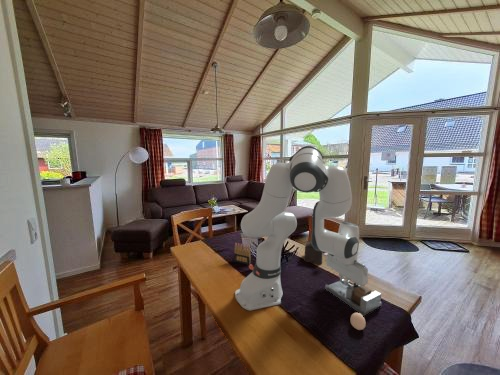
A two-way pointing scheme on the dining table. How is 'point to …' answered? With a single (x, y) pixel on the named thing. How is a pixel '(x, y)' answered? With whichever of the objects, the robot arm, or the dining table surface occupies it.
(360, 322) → the egg
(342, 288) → the vise
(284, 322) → the dining table surface
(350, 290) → the free jaw
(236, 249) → the ammunition clip
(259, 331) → the dining table surface
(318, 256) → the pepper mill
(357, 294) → the block
